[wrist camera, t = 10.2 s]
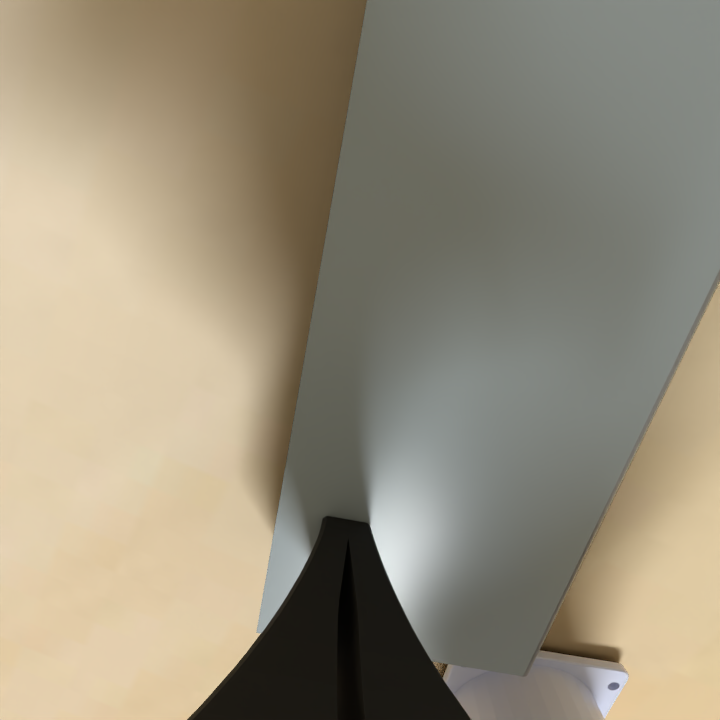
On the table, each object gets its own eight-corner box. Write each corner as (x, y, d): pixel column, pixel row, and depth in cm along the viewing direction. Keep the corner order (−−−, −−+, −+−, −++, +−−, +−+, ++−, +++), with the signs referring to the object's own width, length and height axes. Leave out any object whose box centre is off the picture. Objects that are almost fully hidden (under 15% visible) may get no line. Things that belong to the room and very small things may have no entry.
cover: (524, 659, 13) (531, 677, 13) (260, 615, 13) (256, 632, 12) (864, -57, 7) (906, -82, 7) (403, -187, 7) (406, -225, 6)
